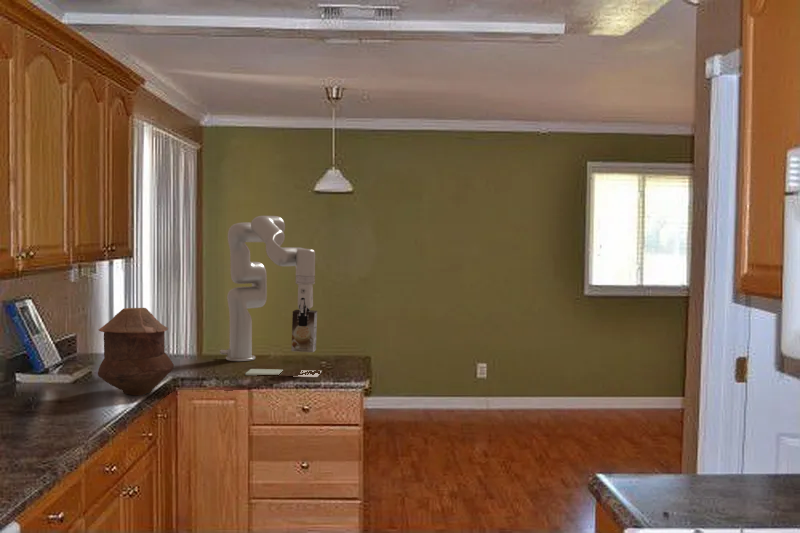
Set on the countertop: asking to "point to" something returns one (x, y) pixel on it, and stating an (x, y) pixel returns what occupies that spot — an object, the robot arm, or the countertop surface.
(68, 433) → the countertop surface
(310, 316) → the coffee box
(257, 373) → the green pad
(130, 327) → the pottery vessel
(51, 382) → the countertop surface
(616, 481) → the countertop surface
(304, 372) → the card
